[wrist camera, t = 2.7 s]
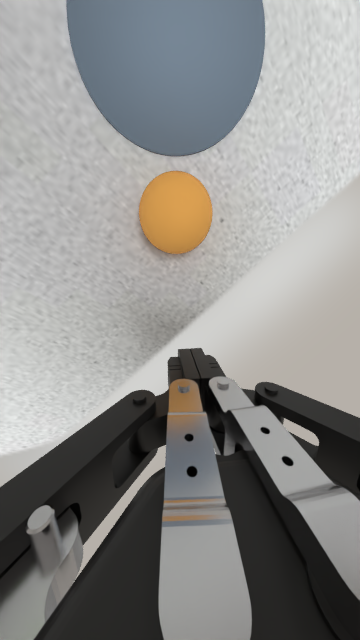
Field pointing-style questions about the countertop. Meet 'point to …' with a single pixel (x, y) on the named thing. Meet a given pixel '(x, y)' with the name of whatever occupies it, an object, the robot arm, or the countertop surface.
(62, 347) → the countertop surface
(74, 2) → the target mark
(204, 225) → the ball
